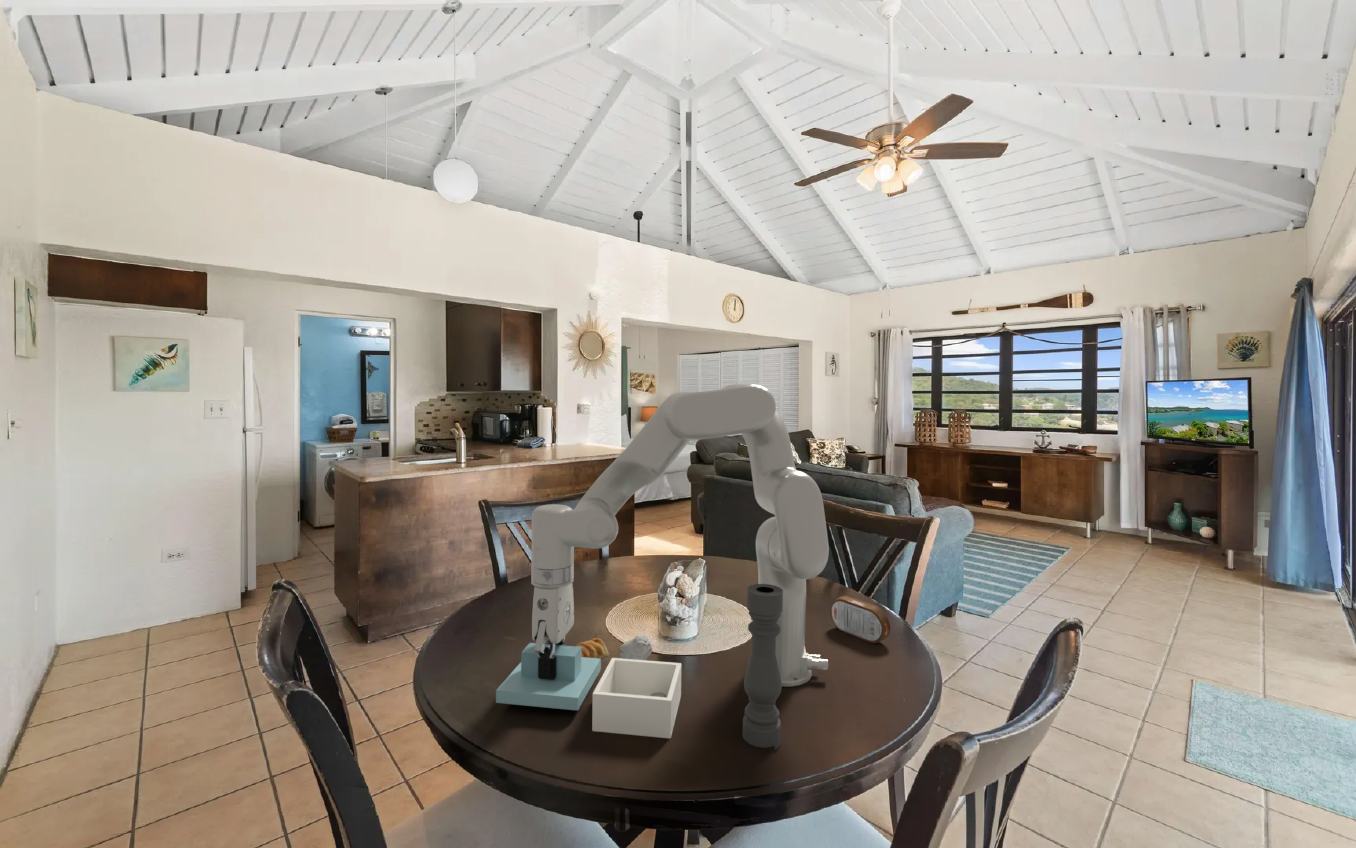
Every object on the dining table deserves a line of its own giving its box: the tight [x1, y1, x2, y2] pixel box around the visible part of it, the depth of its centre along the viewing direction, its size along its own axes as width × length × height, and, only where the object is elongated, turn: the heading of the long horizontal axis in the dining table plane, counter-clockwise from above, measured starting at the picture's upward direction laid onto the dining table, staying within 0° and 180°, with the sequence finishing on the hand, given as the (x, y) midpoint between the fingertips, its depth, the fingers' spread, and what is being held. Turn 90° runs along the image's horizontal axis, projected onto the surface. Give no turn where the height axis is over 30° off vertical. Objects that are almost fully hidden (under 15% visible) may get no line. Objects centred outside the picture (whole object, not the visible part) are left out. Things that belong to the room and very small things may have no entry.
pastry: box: [575, 637, 609, 660], centre depth 120 cm, size 9×7×4 cm
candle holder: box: [741, 583, 783, 751], centre depth 93 cm, size 6×6×25 cm
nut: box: [650, 692, 667, 698], centre depth 101 cm, size 3×3×2 cm
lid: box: [495, 642, 602, 711], centre depth 105 cm, size 15×15×7 cm
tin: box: [829, 595, 891, 644], centre depth 135 cm, size 15×3×8 cm, turn 38°
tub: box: [591, 657, 682, 740], centre depth 100 cm, size 13×13×7 cm
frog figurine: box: [619, 635, 654, 661], centre depth 116 cm, size 6×7×7 cm
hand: (551, 671), depth 105 cm, fingers closed on lid, 4 cm apart
